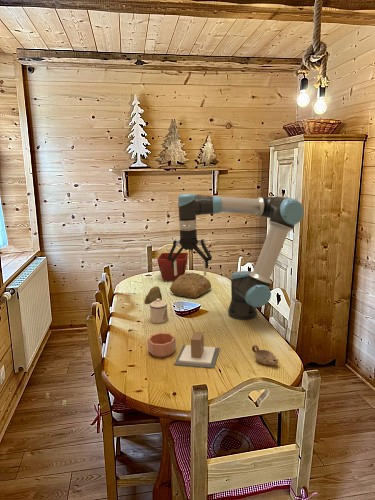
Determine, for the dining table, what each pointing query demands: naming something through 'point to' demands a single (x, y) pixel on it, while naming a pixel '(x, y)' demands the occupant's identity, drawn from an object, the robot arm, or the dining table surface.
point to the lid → (197, 351)
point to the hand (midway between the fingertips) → (190, 274)
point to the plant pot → (167, 268)
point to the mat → (197, 364)
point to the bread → (190, 285)
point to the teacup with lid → (158, 311)
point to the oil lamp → (264, 356)
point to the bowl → (161, 344)
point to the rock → (153, 295)
